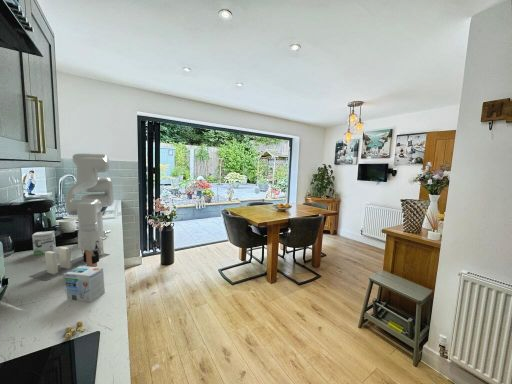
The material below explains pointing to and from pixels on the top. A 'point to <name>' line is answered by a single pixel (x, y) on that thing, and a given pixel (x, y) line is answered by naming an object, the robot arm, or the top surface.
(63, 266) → the domino
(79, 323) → the dice set
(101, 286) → the light bulb box
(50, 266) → the domino
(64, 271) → the mat
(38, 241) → the ink box
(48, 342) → the top surface
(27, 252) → the top surface
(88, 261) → the terracotta domino
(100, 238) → the domino
